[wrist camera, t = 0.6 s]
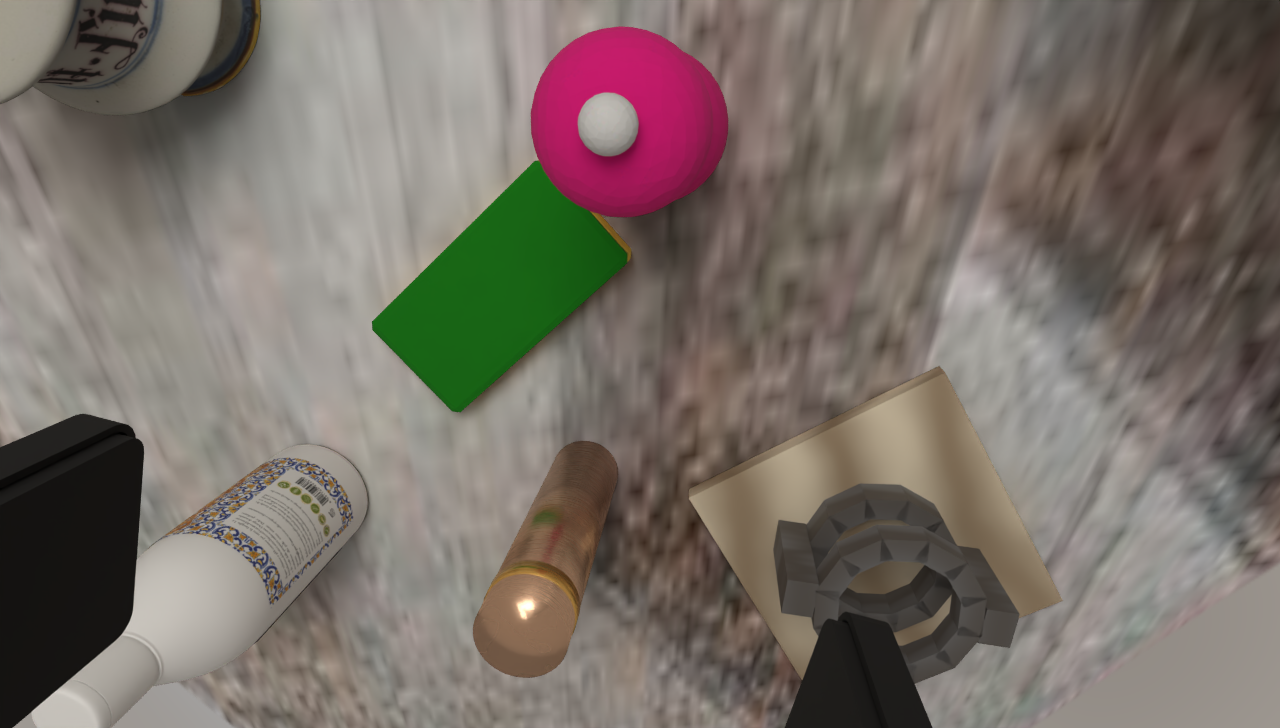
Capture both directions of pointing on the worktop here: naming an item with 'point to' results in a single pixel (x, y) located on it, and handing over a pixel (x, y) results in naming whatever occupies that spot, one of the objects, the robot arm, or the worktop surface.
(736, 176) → the worktop surface
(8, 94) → the apothecary jar
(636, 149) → the pepper mill
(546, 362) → the worktop surface
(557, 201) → the dish sponge
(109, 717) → the bath foam
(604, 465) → the tan cylinder
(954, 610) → the collar stand
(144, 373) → the worktop surface
